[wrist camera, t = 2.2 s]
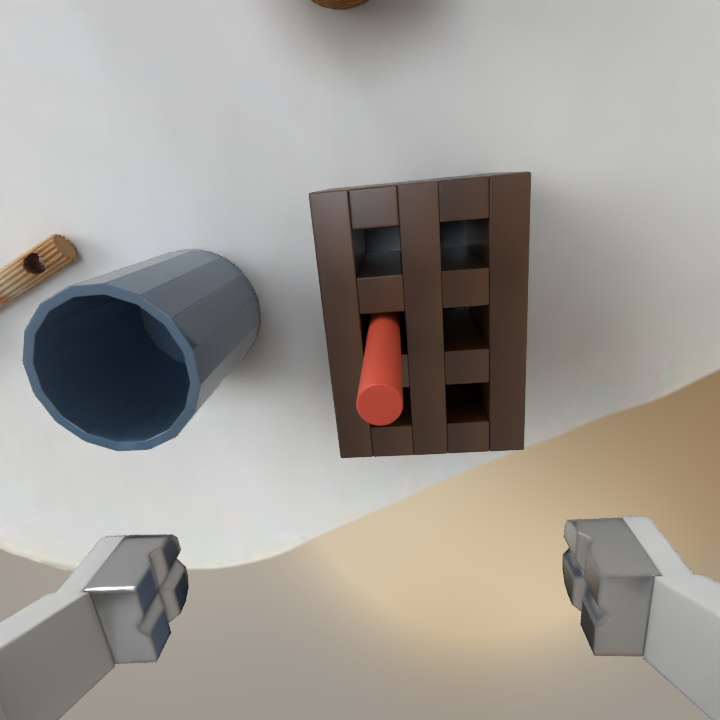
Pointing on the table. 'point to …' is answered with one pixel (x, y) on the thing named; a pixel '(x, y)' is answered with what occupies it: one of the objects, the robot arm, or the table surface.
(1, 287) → the grey and wooden tool
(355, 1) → the disposable coffee cup
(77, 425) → the tumbler
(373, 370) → the straw
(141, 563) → the robot arm
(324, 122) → the table surface
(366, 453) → the caddy
